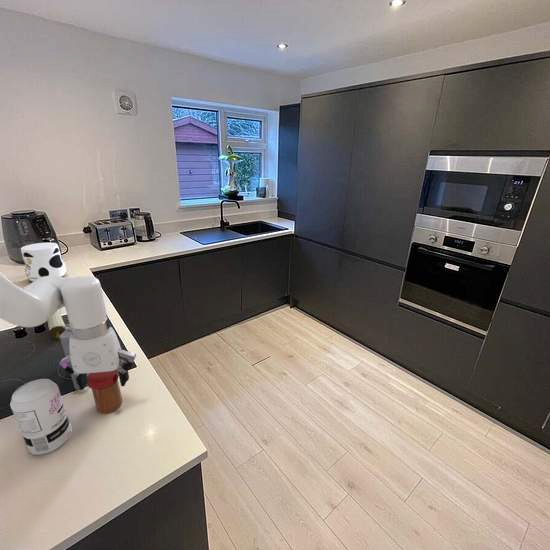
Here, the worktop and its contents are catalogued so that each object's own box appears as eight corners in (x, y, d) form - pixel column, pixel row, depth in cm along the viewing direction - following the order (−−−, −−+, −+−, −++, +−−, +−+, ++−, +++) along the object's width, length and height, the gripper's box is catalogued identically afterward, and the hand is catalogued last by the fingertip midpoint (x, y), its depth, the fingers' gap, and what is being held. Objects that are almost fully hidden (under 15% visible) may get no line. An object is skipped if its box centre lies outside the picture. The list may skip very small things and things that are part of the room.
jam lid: (123, 370, 77) (122, 364, 77) (111, 389, 71) (110, 383, 70) (96, 371, 77) (95, 365, 76) (82, 390, 71) (81, 384, 70)
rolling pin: (47, 309, 124) (44, 299, 122) (63, 306, 127) (60, 296, 125) (50, 346, 100) (46, 334, 98) (69, 340, 103) (66, 329, 101)
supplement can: (28, 437, 68) (7, 388, 62) (70, 419, 73) (54, 371, 67) (29, 464, 62) (7, 411, 56) (74, 442, 67) (58, 392, 61)
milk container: (19, 282, 149) (8, 249, 143) (51, 271, 165) (42, 240, 158) (46, 286, 146) (36, 252, 139) (75, 274, 161) (68, 243, 155)
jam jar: (92, 414, 74) (84, 385, 71) (103, 396, 80) (96, 368, 76) (116, 413, 75) (110, 384, 71) (126, 395, 80) (120, 368, 77)
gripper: (41, 339, 63) (60, 398, 70) (124, 334, 66) (136, 391, 72) (59, 321, 70) (75, 377, 77) (134, 317, 73) (143, 371, 79)
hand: (104, 384), depth 75 cm, fingers open, 9 cm apart
